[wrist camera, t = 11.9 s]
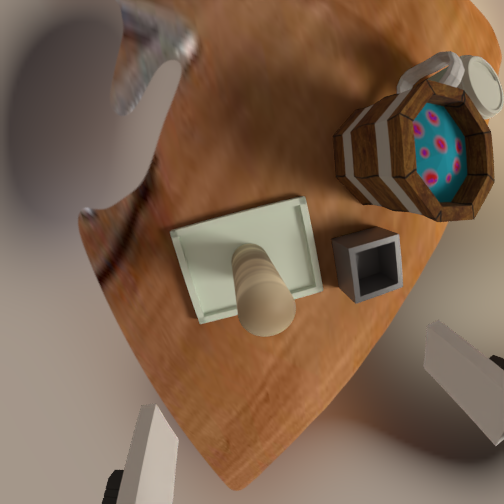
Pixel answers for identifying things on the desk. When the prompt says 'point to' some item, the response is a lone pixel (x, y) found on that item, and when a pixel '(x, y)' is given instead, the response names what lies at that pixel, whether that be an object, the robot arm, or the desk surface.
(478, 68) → the coffee cup
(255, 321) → the dowel
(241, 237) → the tray
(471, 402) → the robot arm
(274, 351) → the desk surface
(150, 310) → the desk surface
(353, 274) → the pen cup
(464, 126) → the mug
